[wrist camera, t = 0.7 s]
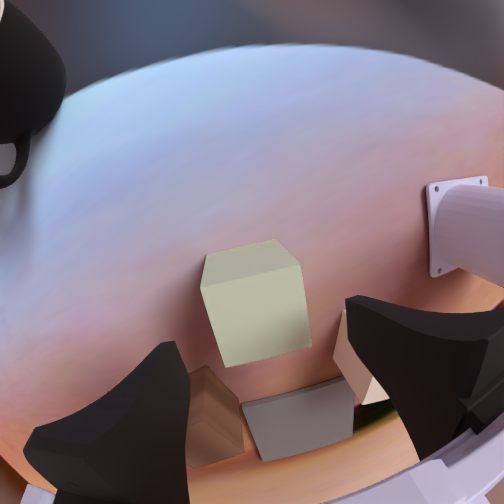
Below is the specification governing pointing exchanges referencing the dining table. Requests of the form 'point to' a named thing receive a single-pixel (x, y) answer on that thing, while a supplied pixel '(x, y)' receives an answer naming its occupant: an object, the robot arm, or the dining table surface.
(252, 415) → the coaster
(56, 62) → the mug
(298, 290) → the green block
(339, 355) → the cream block
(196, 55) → the dining table surface
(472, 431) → the robot arm
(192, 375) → the walnut block
